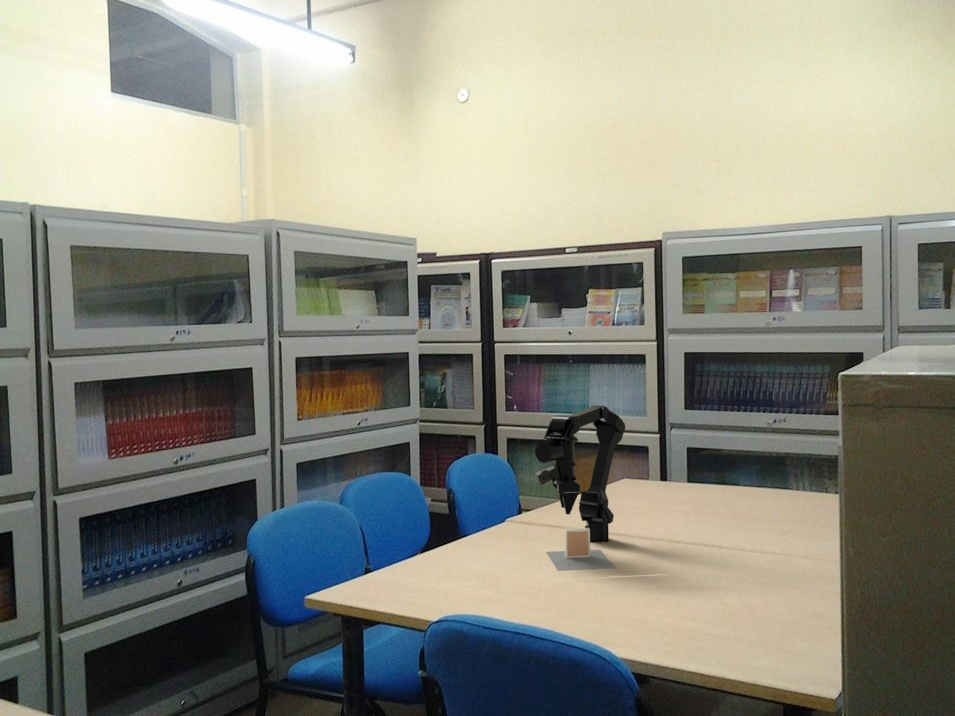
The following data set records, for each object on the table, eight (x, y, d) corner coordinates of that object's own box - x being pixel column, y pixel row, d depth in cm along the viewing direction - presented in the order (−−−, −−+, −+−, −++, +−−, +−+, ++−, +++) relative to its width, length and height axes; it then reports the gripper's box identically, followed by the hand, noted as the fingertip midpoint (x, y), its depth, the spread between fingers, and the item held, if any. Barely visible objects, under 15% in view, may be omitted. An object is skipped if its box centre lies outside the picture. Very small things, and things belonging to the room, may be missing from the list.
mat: (599, 550, 254) (599, 549, 254) (616, 569, 234) (616, 567, 234) (546, 553, 253) (546, 551, 253) (557, 572, 233) (557, 570, 233)
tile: (589, 555, 248) (588, 527, 248) (590, 557, 246) (589, 529, 246) (565, 556, 247) (564, 528, 247) (566, 558, 246) (565, 530, 245)
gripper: (533, 454, 262) (535, 505, 263) (540, 464, 244) (542, 519, 244) (570, 453, 263) (571, 504, 263) (579, 462, 244) (581, 517, 245)
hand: (565, 510), depth 254 cm, fingers open, 9 cm apart
